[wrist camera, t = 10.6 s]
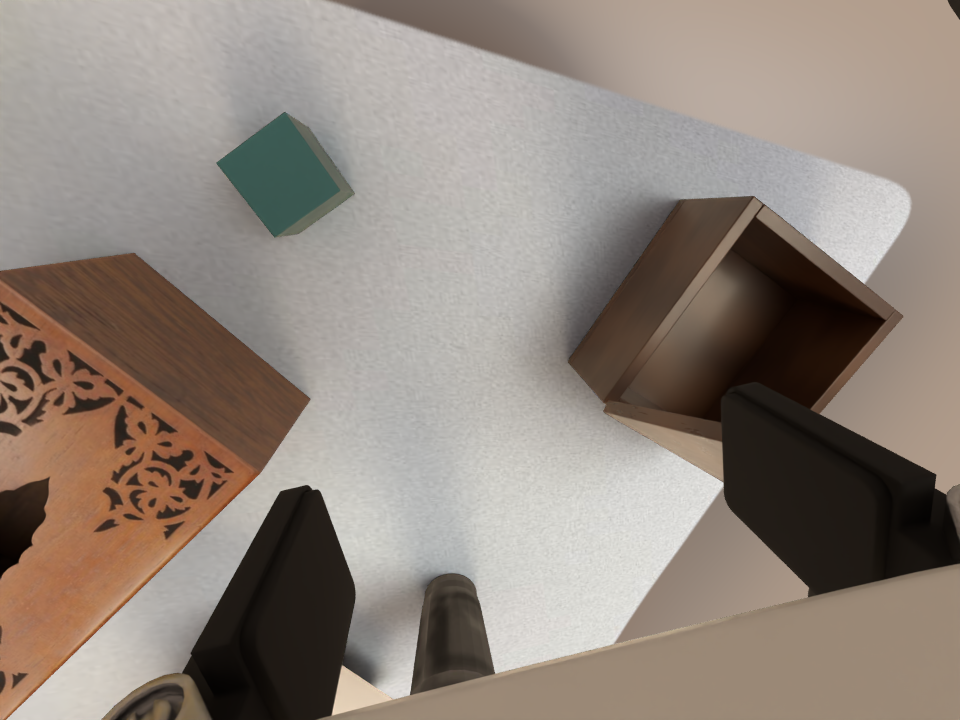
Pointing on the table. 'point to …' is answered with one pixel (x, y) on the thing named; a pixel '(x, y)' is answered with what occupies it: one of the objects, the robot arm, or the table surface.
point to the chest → (731, 315)
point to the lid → (677, 435)
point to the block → (286, 176)
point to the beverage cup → (450, 636)
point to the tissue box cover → (112, 446)
